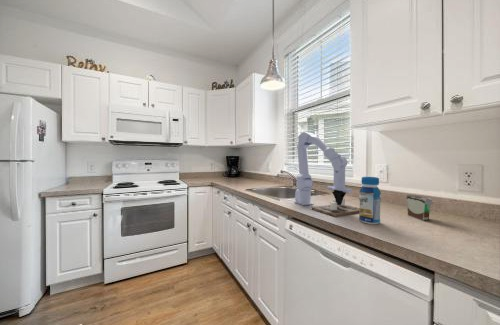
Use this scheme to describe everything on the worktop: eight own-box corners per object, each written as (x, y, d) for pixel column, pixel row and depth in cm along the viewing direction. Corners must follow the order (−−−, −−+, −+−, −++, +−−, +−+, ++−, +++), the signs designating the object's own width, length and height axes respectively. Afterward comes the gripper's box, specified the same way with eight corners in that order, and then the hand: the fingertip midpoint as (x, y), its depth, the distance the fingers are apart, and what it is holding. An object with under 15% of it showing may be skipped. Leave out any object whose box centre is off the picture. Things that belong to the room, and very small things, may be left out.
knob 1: (332, 206, 113) (332, 199, 113) (335, 205, 114) (335, 199, 114) (335, 206, 111) (335, 200, 111) (338, 206, 112) (338, 199, 112)
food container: (439, 222, 92) (440, 200, 91) (425, 222, 92) (426, 199, 92) (417, 214, 104) (418, 195, 104) (405, 214, 104) (405, 194, 104)
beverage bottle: (384, 225, 87) (384, 178, 87) (362, 224, 89) (363, 178, 88) (376, 219, 95) (376, 176, 95) (356, 218, 97) (356, 176, 97)
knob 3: (338, 204, 117) (338, 198, 117) (341, 204, 118) (341, 197, 118) (341, 205, 115) (341, 198, 115) (344, 204, 117) (344, 198, 116)
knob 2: (330, 209, 106) (330, 202, 106) (333, 208, 107) (333, 201, 107) (333, 210, 104) (333, 203, 104) (337, 209, 106) (337, 202, 105)
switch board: (311, 209, 114) (311, 206, 114) (339, 205, 123) (339, 203, 123) (335, 216, 99) (335, 213, 99) (364, 211, 109) (364, 209, 109)
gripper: (323, 178, 115) (323, 202, 116) (345, 181, 102) (345, 208, 102) (332, 178, 118) (332, 201, 119) (355, 180, 105) (354, 207, 105)
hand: (338, 204), depth 111 cm, fingers closed
